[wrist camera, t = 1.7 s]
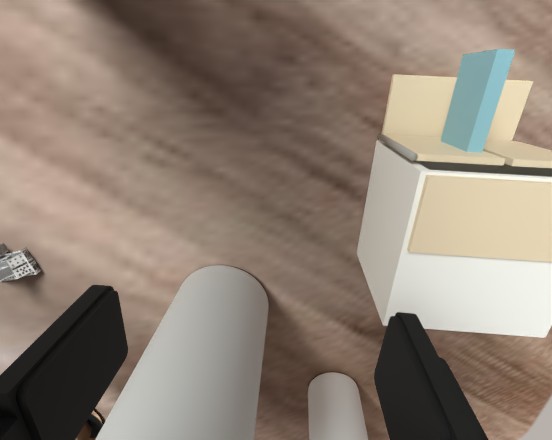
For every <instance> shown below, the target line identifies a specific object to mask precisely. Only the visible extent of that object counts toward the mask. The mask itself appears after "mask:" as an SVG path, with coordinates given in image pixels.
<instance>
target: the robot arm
mask: <svg viewBox="0 0 552 440" xmlns="http://www.w3.org/2000/svg"><path fill="white" fill-rule="evenodd" d="M127 353H128V346H127V340H126V335H125V329H124V324H123V318H122V313H121V307H120V302H119V296H118V293H117V291H114V289H113V288H112V287H111V286H103V285H92V286H91V287H90V288H89V289H88V290H87V291H86V292H85V293H84V294H83V295H82V296H80V297H79V298H78V299H77V300H76V301H75V302H74V303H73V304H72V305H71V306H70V307H69V308H68V309H67V310H66V311H65V312H64V313H63V314H62V315H61V316H60V317H59V318H58V319H57V320H56V321H55V322H54V323H53V324H52V325H51V326H50V327H49V328H48V329H47V330H46V331H45V332H44V333H43V334H42V335H41V336H40V337H39V338H38V339H37V340H36V341H35V342H34V343H33V344H32V345H31V346H30V347H29V348H28V349H27V350H26V351H25V352H24V353H23V354H21V355H20V356H19V357H18V358H17V359H16V360H15V361H14V362H13V363H12V364H11V365H10V366H9V367H8V368H7V369H6V370H5V371H4V372H3V373H2V374H1V375H0V440H75V439H76V438H77V436H78V434H79V433H80V431H81V430H82V428H83V426H84V425H85V423H86V422H87V420H88V418H89V417H90V415H91V414H92V412H93V410H94V409H95V407H96V405H97V404H98V402H99V401H100V399H101V397H102V396H103V394H104V393H105V391H106V389H107V388H108V386H109V385H110V383H111V381H112V380H113V378H114V377H115V375H116V373H117V372H118V370H119V368H120V367H121V365H122V364H123V362H124V360H125V359H126V356H127ZM374 379H375V385H376V389H377V393H378V396H379V400H380V404H381V408H382V411H383V415H384V419H385V423H386V427H387V430H388V434H389V438H390V440H488V438H487V436H486V434H485V432H484V431H483V429H482V427H481V425H480V423H479V421H478V420H477V418H476V416H475V414H474V412H473V410H472V408H471V407H470V405H469V403H468V401H467V399H466V397H465V396H464V394H463V392H462V390H461V388H460V386H459V384H458V383H457V381H456V379H455V377H454V375H453V373H452V372H451V370H450V368H449V366H448V364H447V363H446V361H445V360H444V359H442V358H439V356H438V355H437V353H436V351H435V349H434V347H433V345H432V343H431V341H430V339H429V337H428V336H427V334H426V332H425V330H424V328H423V326H422V324H421V322H420V320H419V318H418V317H417V315H416V314H413V313H402V312H397V313H396V314H395V316H391V317H390V319H389V322H388V326H387V329H386V333H385V337H384V340H383V344H382V348H381V351H380V355H379V358H378V362H377V366H376V369H375V375H374Z"/></svg>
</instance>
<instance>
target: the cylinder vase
mask: <svg viewBox="0 0 552 440" xmlns="http://www.w3.org/2000/svg"><path fill="white" fill-rule="evenodd" d="M268 310H269V304H268V298H267V295H266V293H265V291H264V289H263V287H262V286H261V284H260V283H259V282H258V281H257V280H256V279H255V278H254V277H253V276H251V275H250V274H248V273H247V272H245V271H243V270H240V269H238V268H235V267H231V266H225V265H214V266H208V267H204V268H201V269H199V270H197V271H195V272H193V273H192V274H191V275H189V276H188V277H187V278H186V279H185V281H184V282H183V284H182V285H181V287H180V289H179V291H178V292H177V294H176V296H175V298H174V300H173V301H172V303H171V305H170V307H169V309H168V310H167V312H166V314H165V316H164V318H163V319H162V321H161V323H160V325H159V326H158V328H157V330H156V332H155V334H154V335H153V337H152V339H151V341H150V343H149V344H148V346H147V348H146V350H145V351H144V353H143V355H142V357H141V359H140V360H139V362H138V364H137V366H136V368H135V369H134V371H133V373H132V375H131V377H130V378H129V380H128V382H127V384H126V385H125V387H124V389H123V391H122V393H121V394H120V396H119V398H118V400H117V402H116V403H115V405H114V407H113V409H112V410H111V412H110V414H109V416H108V418H107V419H106V421H105V423H104V425H103V427H102V428H101V430H100V432H99V434H98V436H97V437H96V439H95V440H254V432H255V423H256V414H257V406H258V397H259V388H260V380H261V371H262V362H263V354H264V345H265V336H266V328H267V319H268Z"/></svg>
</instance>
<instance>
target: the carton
mask: <svg viewBox="0 0 552 440" xmlns="http://www.w3.org/2000/svg"><path fill="white" fill-rule="evenodd" d="M456 80H457V77H437V76H416V75H395V74H393V75H392V80H391V86H390V91H389V96H388V102H387V107H386V113H385V118H384V124H383V129H382V134H391V135H410V136H428V137H442V133H443V129H444V126H445V122H446V118H447V114H448V110H449V107H450V103H451V99H452V95H453V91H454V88H455V84H456ZM532 83H533V81H520V80H505V83H504V86H503V90H502V93H501V96H500V99H499V102H498V105H497V108H496V111H495V114H494V117H493V120H492V124H491V127H490V130H489V133H488V136H487V139H486V142H485V145H484V148H483V151H485V152H488V153H491V154H494V155H496V156H499V157H502V158H505V162H504V165H503V166H502V165H485V164H467V163H450V162H432V161H416V160H415V161H411V160H410V159H408V158H407V157H405V156H404V155H402V154H401V153H399V152H398V151H396V150H395V149H393V148H392V147H390V146H389V145H387V144H386V143H384V142H383V141H379V140H377V141H376V147H375V153H374V158H373V164H372V169H371V175H370V181H369V186H368V192H367V198H366V203H365V209H364V214H363V220H362V226H361V231H360V237H359V243H358V248H357V256H358V258H359V261H360V264H361V267H362V269H363V272H364V275H365V278H366V280H367V283H368V286H369V289H370V291H371V294H372V297H373V300H374V302H375V305H376V308H377V311H378V313H379V316H380V319H381V322H382V324H383V326H388V322H389V319H390V317H391V316H395V314H396V313H397V312H402V313H413V314H416V315H417V317H418V318H419V320H420V322H421V324H422V326H423V328H424V329H436V330H449V331H463V332H476V333H490V334H503V335H517V336H530V337H543V338H545V337H546V335H547V333H548V331H549V329H550V327H551V326H552V150H548V149H544V148H540V147H536V146H533V145H529V144H525V143H521V142H517V141H512V139H513V136H514V134H515V131H516V128H517V125H518V122H519V120H520V117H521V114H522V111H523V108H524V106H525V103H526V100H527V97H528V94H529V92H530V89H531V86H532Z"/></svg>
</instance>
